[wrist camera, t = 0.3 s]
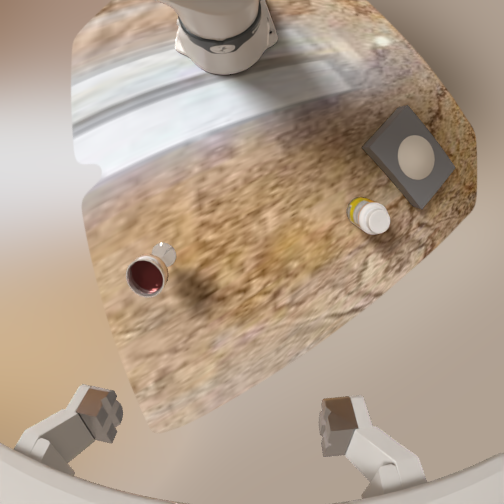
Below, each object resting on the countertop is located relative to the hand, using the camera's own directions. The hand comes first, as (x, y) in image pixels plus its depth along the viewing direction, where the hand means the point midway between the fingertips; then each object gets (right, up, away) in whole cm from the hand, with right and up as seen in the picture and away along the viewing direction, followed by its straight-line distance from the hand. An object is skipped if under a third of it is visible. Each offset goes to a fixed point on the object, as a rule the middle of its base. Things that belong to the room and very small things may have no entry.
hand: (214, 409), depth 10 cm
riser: (+32, +25, +42) cm, 58 cm away
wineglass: (-16, +5, +48) cm, 51 cm away
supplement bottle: (+22, +14, +46) cm, 52 cm away
